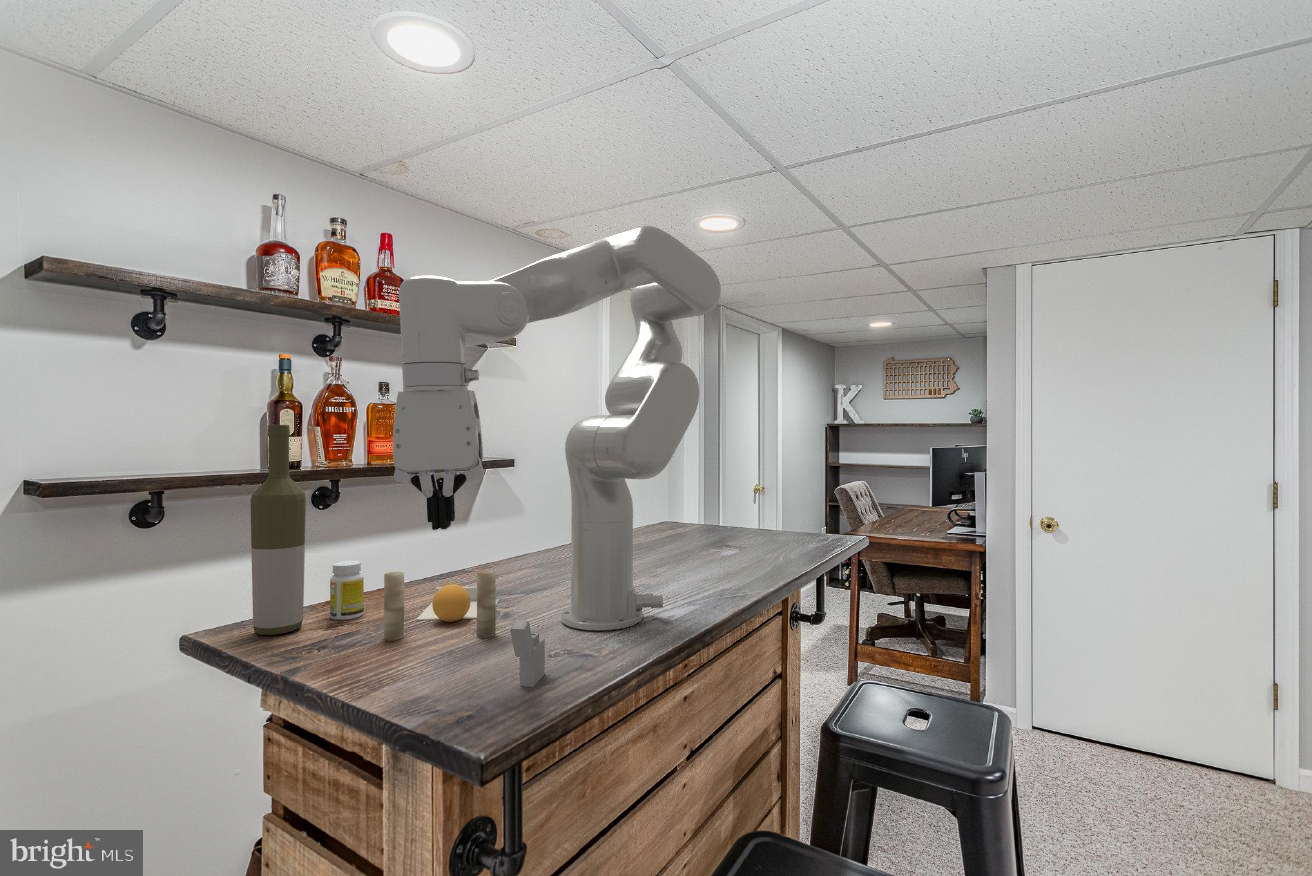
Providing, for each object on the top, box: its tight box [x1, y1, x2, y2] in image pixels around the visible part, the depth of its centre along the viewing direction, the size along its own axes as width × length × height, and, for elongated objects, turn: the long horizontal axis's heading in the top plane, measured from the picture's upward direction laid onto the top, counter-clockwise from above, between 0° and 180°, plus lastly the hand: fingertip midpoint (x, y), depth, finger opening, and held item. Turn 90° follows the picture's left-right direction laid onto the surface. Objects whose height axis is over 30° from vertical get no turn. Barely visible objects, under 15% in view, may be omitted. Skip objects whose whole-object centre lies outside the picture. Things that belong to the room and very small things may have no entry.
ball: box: [431, 583, 471, 623], centre depth 98 cm, size 6×6×6 cm
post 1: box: [383, 571, 405, 642], centre depth 90 cm, size 3×3×9 cm
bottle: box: [250, 424, 307, 636], centre depth 93 cm, size 7×7×30 cm
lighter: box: [509, 619, 546, 688], centre depth 73 cm, size 7×2×8 cm, turn 172°
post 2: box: [476, 569, 497, 639], centre depth 91 cm, size 3×3×9 cm
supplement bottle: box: [329, 560, 365, 621], centre depth 101 cm, size 5×5×8 cm
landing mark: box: [415, 598, 500, 621], centre depth 104 cm, size 11×11×1 cm
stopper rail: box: [434, 585, 477, 601], centre depth 109 cm, size 10×1×2 cm, turn 96°
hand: (441, 527), depth 79 cm, fingers closed
